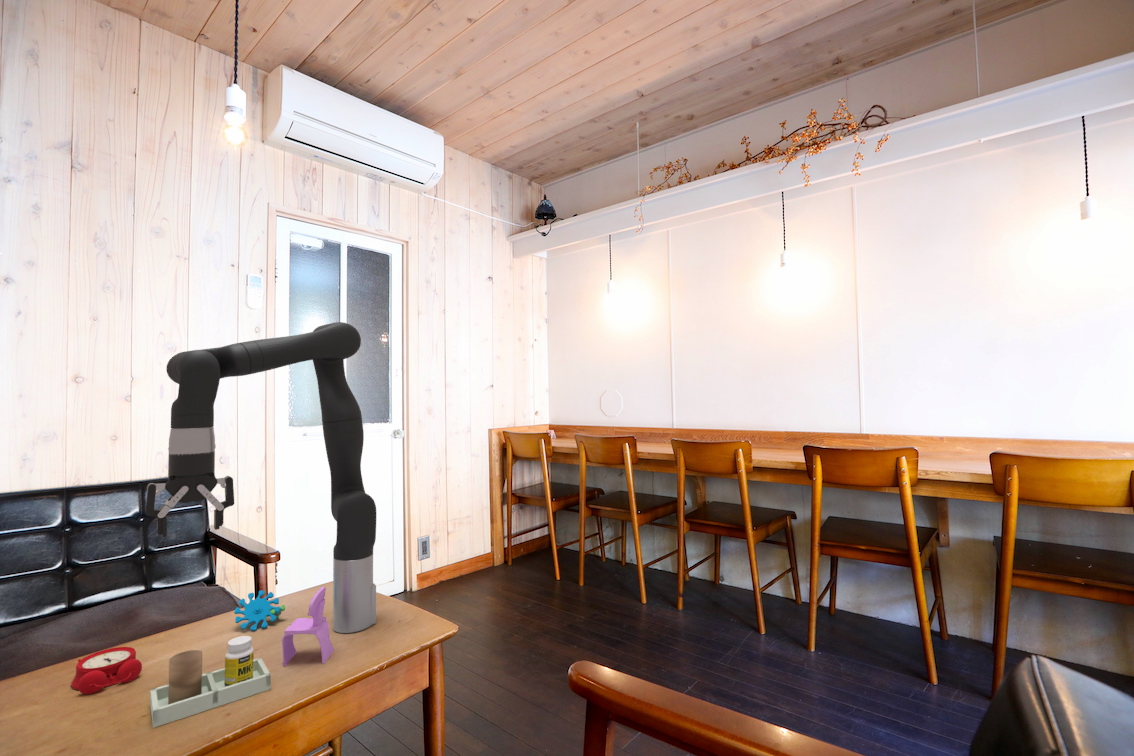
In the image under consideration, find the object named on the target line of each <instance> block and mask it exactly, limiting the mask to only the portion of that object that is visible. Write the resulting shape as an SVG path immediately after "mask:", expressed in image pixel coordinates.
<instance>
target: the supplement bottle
mask: <svg viewBox="0 0 1134 756" xmlns="http://www.w3.org/2000/svg"><path fill="white" fill-rule="evenodd" d="M252 642H253V640H252V637H251V635H242V636H237V637H234V638H232V639H230V640H229V641H228V642H227V651H226V652H225V655H224V658H225V659H224V668H225V683H224V686H225V687H226V686H230V685H233V684H236V683H239V682H242V681H246V680H249V679H252V678H253V660H254V647H253V646H252V644H253V643H252Z"/></svg>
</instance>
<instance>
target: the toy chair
mask: <svg viewBox="0 0 1134 756" xmlns="http://www.w3.org/2000/svg"><path fill="white" fill-rule="evenodd" d="M325 596H326V586H325V585H324V586H322V587H321V586H320V588H319V589H318V591H317V592H316V593H315V594H314V595H313V597H312V599H311V600H310V603H309V604H308V605H309V607H308V613H307V616H308V617H309V618H307V617H299V618H298V617H297V618H296V619H295V620H294V621H293V622H292V623H291V624H290V625H289V626H288V627H287V628H285V630H284V635H283V636H282V638H281V646H282V649H281V650H282V667H286V666H287V665H288V663H289V662H290V661H291V660H292V659H293V657H294V656H295V655H296V654H297V652H298V651H297V649H296V647H295V644H294V635H314V636H315V637H316V639H317V640H318V643H319V647H320V650H321V664H322V665H324V664H325V663H326V661H327V660H329V657H331V656H332V654H333V652H334V651H335V650H334V647H333V645H332V642H331V639H330V629H329V628H330V626H329V622H328V620H327V616H324V611H325V610H324V608H325V605H326V603H325V602H326V598H325Z"/></svg>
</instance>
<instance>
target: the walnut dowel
mask: <svg viewBox="0 0 1134 756" xmlns="http://www.w3.org/2000/svg"><path fill="white" fill-rule="evenodd" d="M202 674H203V651H202V650H198V649H194V650H193V649H192V650H186V651H183V652H180V653H177V654H175V655H173V656H171V657H170V658H169V660H168V684H169V691H168V705H169V704H172V703H175V702H178V701H181V700H185V699H188V698H191V697H194V696H197V695H201V694H202Z"/></svg>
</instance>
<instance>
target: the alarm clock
mask: <svg viewBox="0 0 1134 756" xmlns="http://www.w3.org/2000/svg"><path fill="white" fill-rule="evenodd" d="M136 657H137V651H136V649H135V648H134V647H130V646H129V647H128V646H121V647H113V648H108V649H103V650H99V651H96V652H94V653H92V654H89V655H87V656H85V657H83V658H79V659H77V663H76V666H75V676H74V677H73V679H72V681H71V685H70V686H71V688H72V689H74V690H78V691H79V692H80V693H81V694H82V695H92V694H96V693H99V692H100V691H102V689H104V688H106V687H109V686H113V685H116V684H119V683H121V684H127V683H130V682H132V681H134V680H136V679H137V678H138V677H139V676H140V674H141V673H142V670H143V669H142V668H143V664H142V662H141V661H140V660H139V659H138V658H137V659H136Z"/></svg>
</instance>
